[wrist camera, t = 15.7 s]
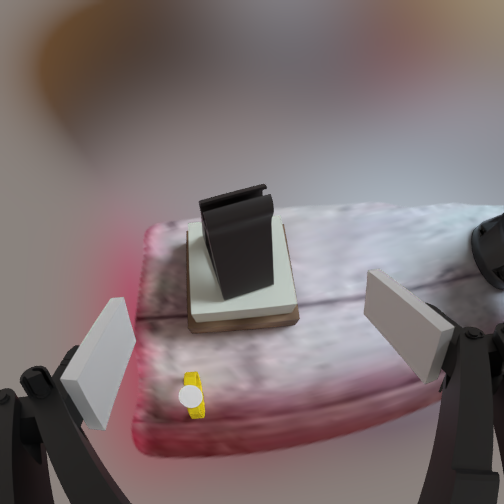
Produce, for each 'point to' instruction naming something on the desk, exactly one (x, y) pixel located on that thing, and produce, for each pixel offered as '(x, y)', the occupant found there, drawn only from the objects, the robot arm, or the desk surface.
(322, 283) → the desk surface
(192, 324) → the lower block
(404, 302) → the robot arm
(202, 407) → the watch
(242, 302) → the upper block
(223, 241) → the phone stand
